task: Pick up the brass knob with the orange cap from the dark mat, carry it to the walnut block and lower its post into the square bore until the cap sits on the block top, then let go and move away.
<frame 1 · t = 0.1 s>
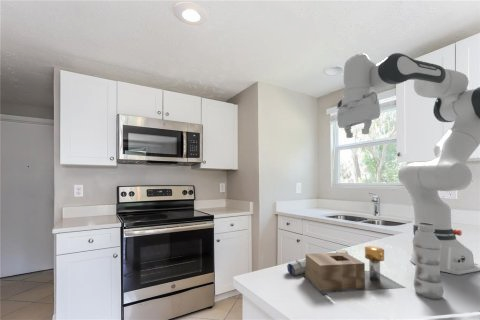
hand: (357, 136, 91), 48 cm above the countertop, tool pointing down, fingers open, 8 cm apart
hitch block: (351, 282, 77), on the countertop
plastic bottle: (428, 297, 69), on the countertop
brass knob: (374, 279, 78), point 1 cm above the countertop, touching hitch block
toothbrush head: (321, 271, 87), on the countertop
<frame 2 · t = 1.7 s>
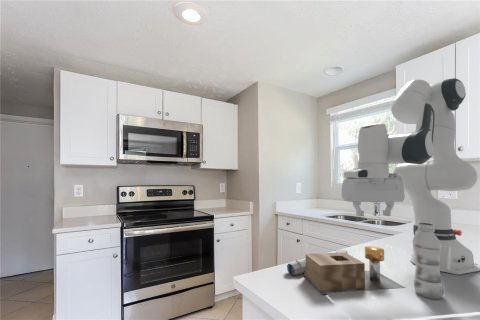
hand: (373, 215, 79), 20 cm above the countertop, tool pointing down, fingers open, 8 cm apart
nothing on the countertop moved.
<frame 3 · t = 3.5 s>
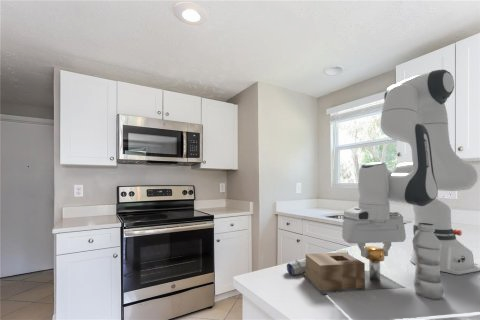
hand: (374, 256, 79), 8 cm above the countertop, tool pointing down, fingers closed on brass knob, 5 cm apart
brass knob: (374, 279, 78), point 1 cm above the countertop, touching gripper, hitch block
everything else where it was.
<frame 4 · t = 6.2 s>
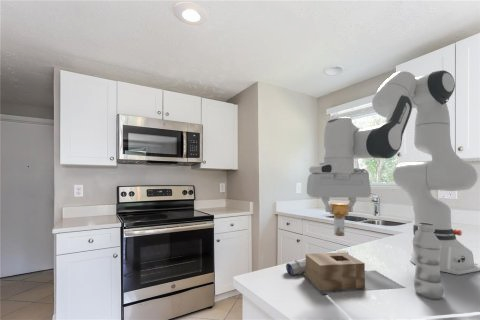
hand: (339, 211, 78), 22 cm above the countertop, tool pointing down, fingers closed on brass knob, 5 cm apart
brass knob: (339, 234, 77), point 15 cm above the countertop, touching gripper
everything else where it was.
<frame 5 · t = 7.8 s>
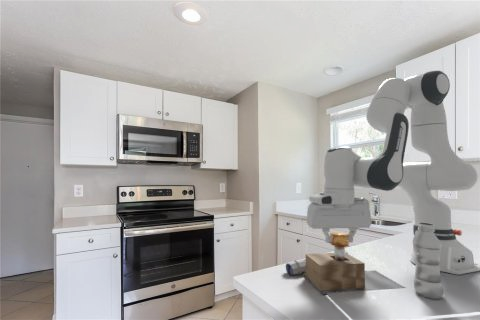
hand: (339, 242, 77), 12 cm above the countertop, tool pointing down, fingers closed on brass knob, 5 cm apart
brass knob: (339, 265, 77), point 5 cm above the countertop, touching gripper
everything else where it was.
when the fingers open (9 cm above the countertop, at t = 9.1 s): brass knob stays where it is, resting on hitch block.
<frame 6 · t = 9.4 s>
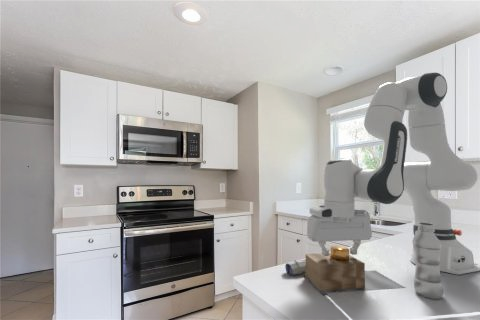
hand: (339, 254, 77), 9 cm above the countertop, tool pointing down, fingers open, 8 cm apart
brass knob: (340, 279, 77), point 1 cm above the countertop, touching hitch block
everything else where it was.
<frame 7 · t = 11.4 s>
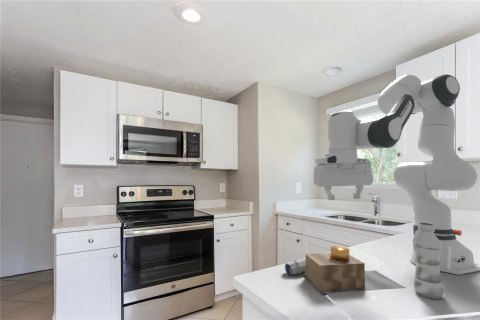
hand: (344, 199, 84), 25 cm above the countertop, tool pointing down, fingers open, 8 cm apart
nothing on the countertop moved.
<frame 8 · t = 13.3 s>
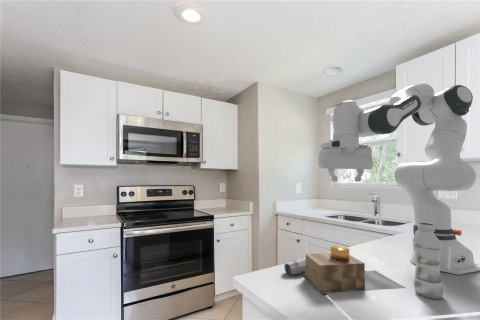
hand: (346, 181, 92), 31 cm above the countertop, tool pointing down, fingers open, 8 cm apart
at the end: brass knob 0.1 cm from the target spot on the hitch block, point 1.1 cm above the hitch block's base; brass knob tilted 0°; the gripper is holding nothing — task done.
